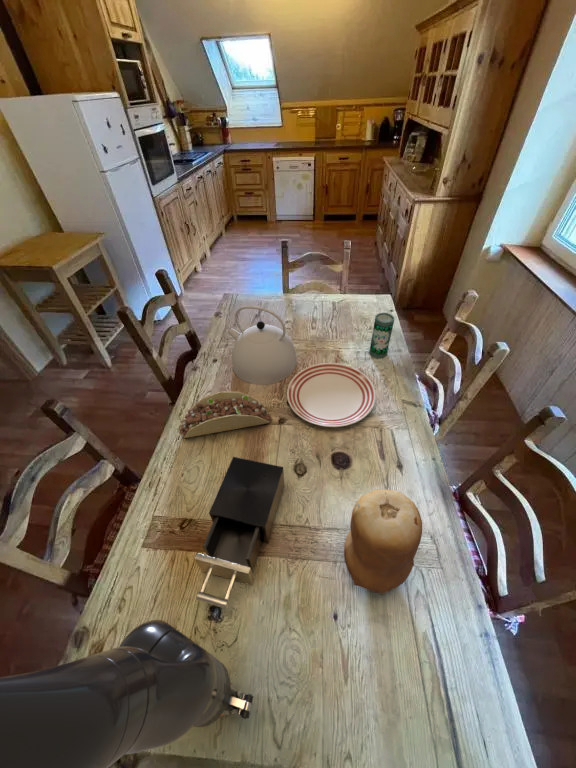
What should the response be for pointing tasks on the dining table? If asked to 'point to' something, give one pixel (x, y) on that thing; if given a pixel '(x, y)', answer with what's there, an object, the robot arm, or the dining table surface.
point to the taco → (223, 414)
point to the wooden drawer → (229, 555)
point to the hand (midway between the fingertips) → (219, 696)
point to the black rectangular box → (250, 494)
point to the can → (381, 335)
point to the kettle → (262, 352)
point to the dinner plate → (331, 395)
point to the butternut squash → (382, 540)
